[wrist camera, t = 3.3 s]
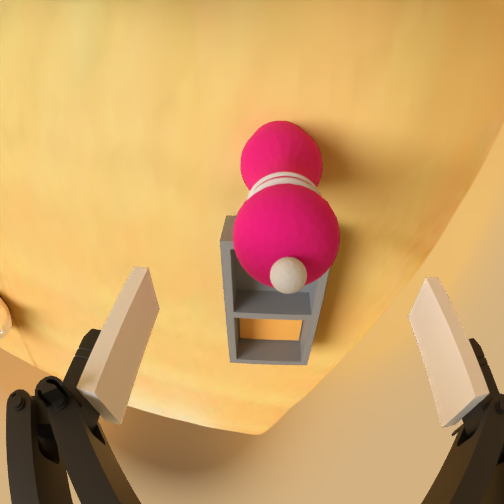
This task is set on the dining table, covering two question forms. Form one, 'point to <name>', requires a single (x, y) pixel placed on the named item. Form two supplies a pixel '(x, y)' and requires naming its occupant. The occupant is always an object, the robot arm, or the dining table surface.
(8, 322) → the teapot
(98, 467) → the robot arm
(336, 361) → the dining table surface
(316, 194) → the pepper mill
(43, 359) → the dining table surface
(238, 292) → the rack
